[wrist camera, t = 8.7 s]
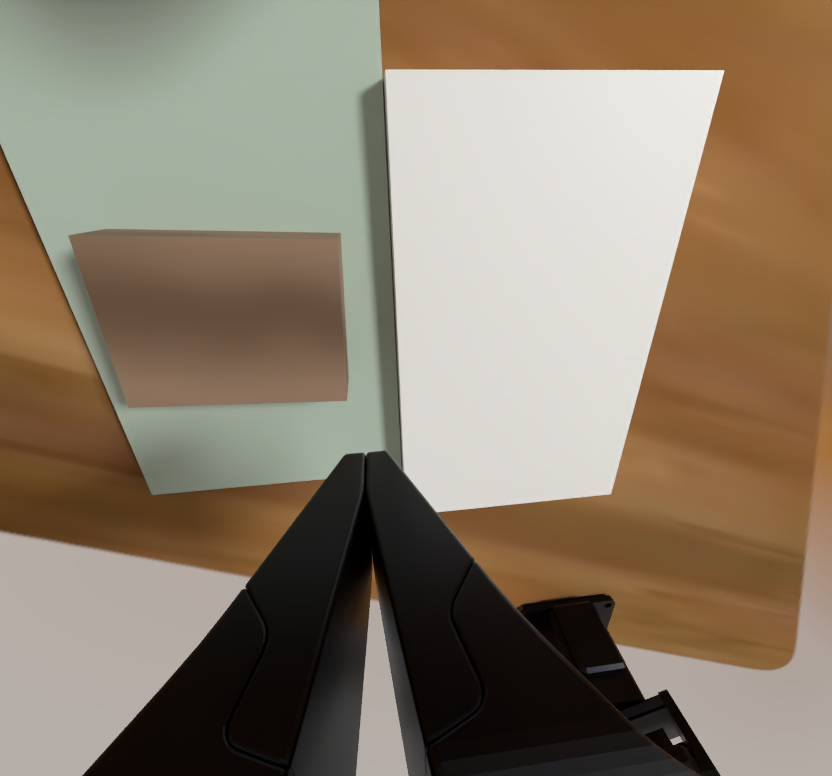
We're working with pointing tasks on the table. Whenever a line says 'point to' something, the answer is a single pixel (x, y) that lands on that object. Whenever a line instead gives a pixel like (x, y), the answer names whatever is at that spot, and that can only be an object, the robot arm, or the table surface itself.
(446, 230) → the plate
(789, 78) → the table surface
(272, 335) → the walnut tile
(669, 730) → the robot arm
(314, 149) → the mat
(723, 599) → the table surface
